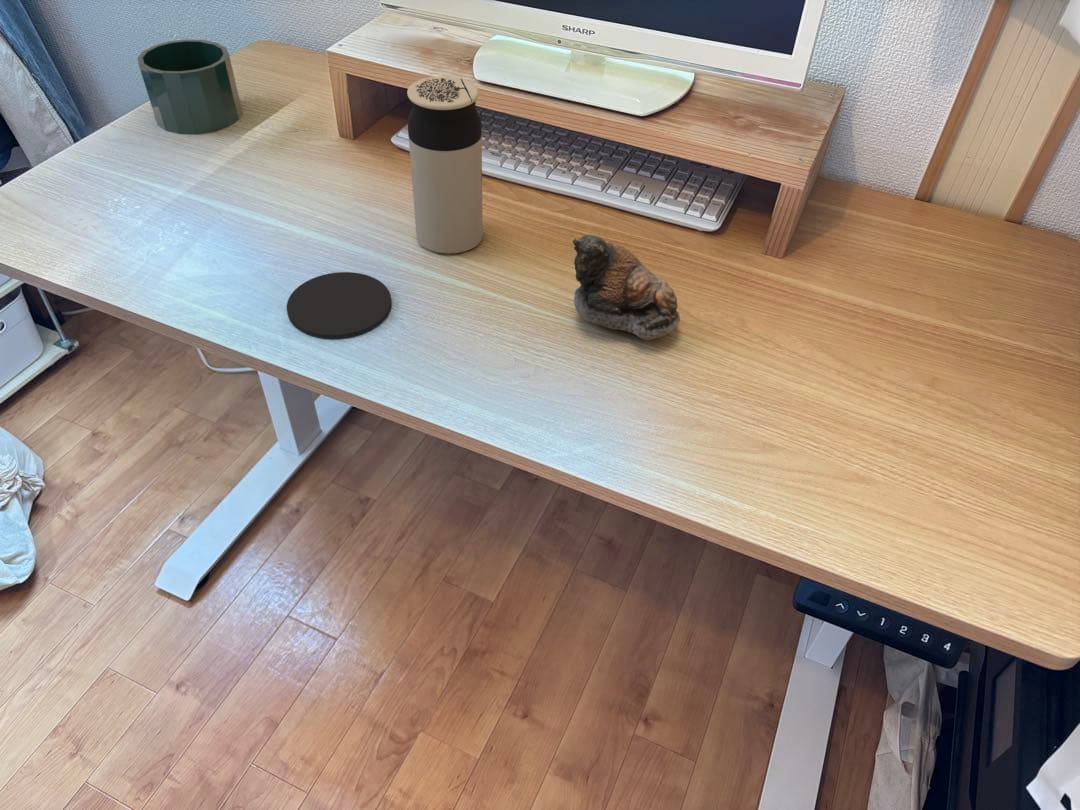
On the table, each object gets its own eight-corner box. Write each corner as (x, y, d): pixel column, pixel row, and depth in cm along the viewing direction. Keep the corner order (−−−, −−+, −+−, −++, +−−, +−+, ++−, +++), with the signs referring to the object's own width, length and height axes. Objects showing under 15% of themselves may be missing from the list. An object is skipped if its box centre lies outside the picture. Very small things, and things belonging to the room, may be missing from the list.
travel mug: (417, 257, 92) (405, 107, 80) (416, 220, 98) (404, 74, 85) (485, 254, 93) (483, 106, 81) (480, 218, 99) (478, 74, 86)
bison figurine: (680, 317, 87) (697, 238, 79) (671, 358, 82) (688, 278, 75) (573, 296, 88) (581, 218, 81) (558, 335, 84) (565, 255, 76)
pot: (211, 152, 108) (191, 79, 101) (142, 135, 110) (118, 63, 103) (260, 118, 116) (245, 48, 108) (195, 103, 118) (176, 34, 111)
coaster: (359, 350, 81) (358, 346, 80) (266, 322, 83) (265, 318, 83) (409, 290, 88) (409, 286, 87) (323, 267, 90) (322, 262, 90)
